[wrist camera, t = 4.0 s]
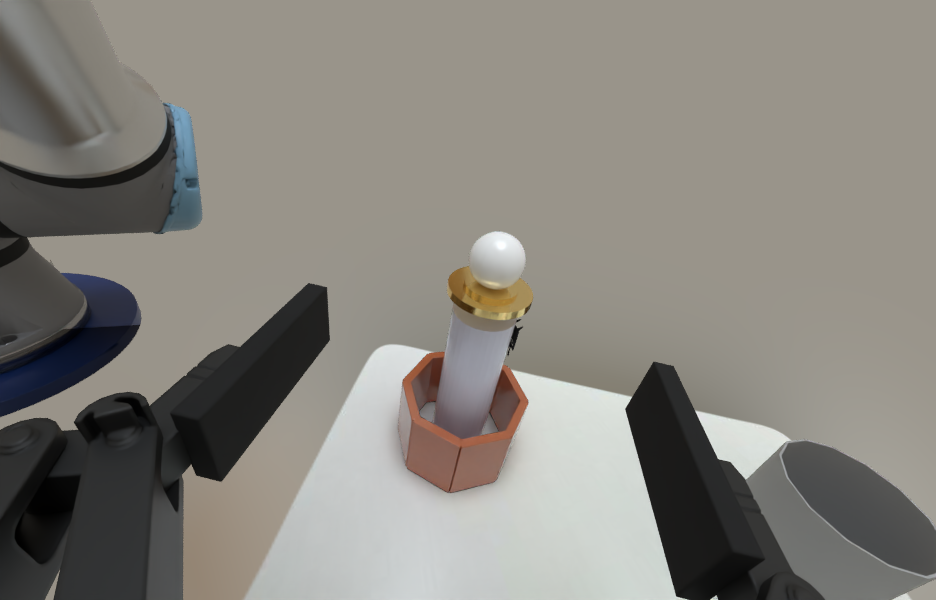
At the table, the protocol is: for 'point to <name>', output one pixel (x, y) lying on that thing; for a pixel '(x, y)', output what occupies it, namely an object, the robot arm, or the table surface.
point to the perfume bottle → (480, 331)
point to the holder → (445, 453)
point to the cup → (844, 523)
